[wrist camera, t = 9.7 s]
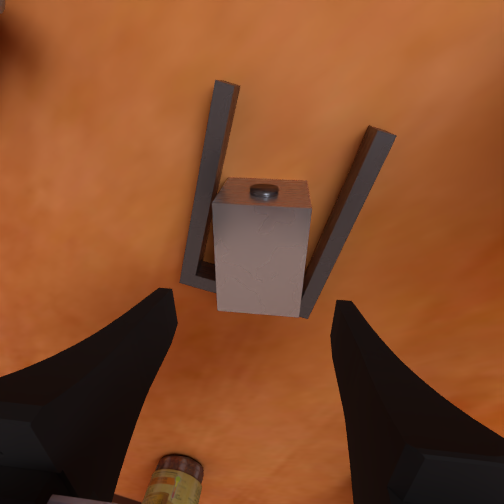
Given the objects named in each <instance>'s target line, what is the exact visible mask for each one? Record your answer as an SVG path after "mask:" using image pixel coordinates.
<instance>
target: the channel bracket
mask: <svg viewBox="0 0 504 504" xmlns="http://www.w3.org/2000/svg"><path fill="white" fill-rule="evenodd" d="M239 89H240V86H239V85H236V84H233V83H229V82H226V81H222V80H215V85H214V90H213V96H212V102H211V107H210V113H209V119H208V124H207V130H206V136H205V141H204V147H203V153H202V158H201V164H200V170H199V175H198V181H197V187H196V192H195V198H194V204H193V209H192V215H191V221H190V226H189V232H188V238H187V243H186V249H185V255H184V260H183V266H182V272H181V277H180V283H182V284H185V285H189V286H192V287H196V288H200V289H203V290H207V291H210V292H214V293H217V291H216V272H215V264H211V263H208V262H204V261H203V257H204V252H205V247H206V243H207V238H208V233H209V229H210V224H211V219H212V202H213V201H214V199H215V198H216V196H217V192H218V187H219V182H220V178H221V173H222V168H223V164H224V159H225V154H226V150H227V145H228V141H229V136H230V131H231V127H232V122H233V117H234V113H235V108H236V103H237V99H238V94H239ZM395 138H396V135H394V134H392V133H390V132H387V131H385V130H382V129H379V128H375V127H372V126H369V127H368V129H367V132H366V134H365V136H364V138H363V141H362V143H361V145H360V148H359V150H358V152H357V155H356V157H355V159H354V162H353V164H352V166H351V168H350V171H349V173H348V175H347V178H346V180H345V182H344V185H343V187H342V189H341V191H340V194H339V196H338V198H337V201H336V203H335V205H334V208H333V210H332V212H331V215H330V217H329V219H328V221H327V224H326V226H325V228H324V231H323V233H322V235H321V238H320V240H319V242H318V244H317V247H316V249H315V251H314V254H313V256H312V258H311V261H310V263H309V265H308V268H307V270H306V272H305V274H304V279H303V288H302V296H301V304H300V313H299V317H302V318H306V319H308V317H309V315H310V313H311V311H312V309H313V307H314V305H315V303H316V301H317V299H318V297H319V295H320V293H321V291H322V289H323V287H324V285H325V282H326V280H327V278H328V276H329V274H330V272H331V270H332V268H333V266H334V264H335V262H336V260H337V258H338V256H339V254H340V252H341V250H342V247H343V245H344V243H345V241H346V239H347V237H348V235H349V233H350V231H351V229H352V227H353V225H354V223H355V221H356V219H357V217H358V215H359V212H360V210H361V208H362V206H363V204H364V202H365V200H366V198H367V196H368V194H369V192H370V190H371V188H372V186H373V184H374V182H375V180H376V177H377V175H378V173H379V171H380V169H381V167H382V165H383V163H384V161H385V159H386V157H387V155H388V153H389V151H390V149H391V147H392V144H393V142H394V140H395Z"/></svg>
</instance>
